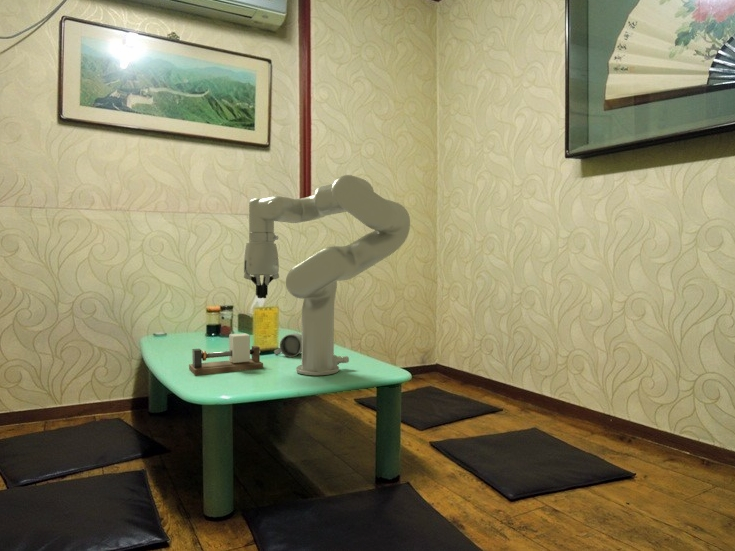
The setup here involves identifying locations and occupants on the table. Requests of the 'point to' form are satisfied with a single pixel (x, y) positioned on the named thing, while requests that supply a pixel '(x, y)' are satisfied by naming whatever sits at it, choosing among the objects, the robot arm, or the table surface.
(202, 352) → the rod
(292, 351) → the ceramic mug
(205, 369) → the board
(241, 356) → the sleeve
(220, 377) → the table surface
